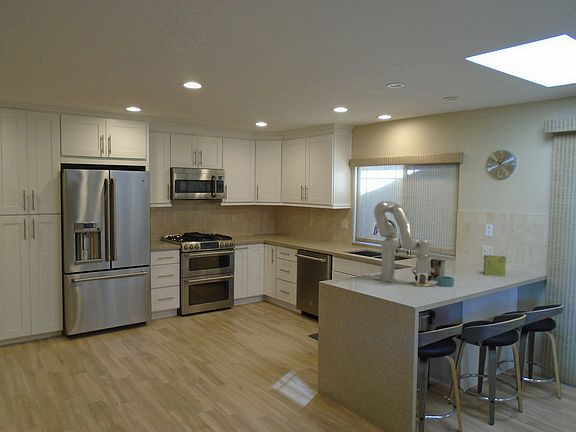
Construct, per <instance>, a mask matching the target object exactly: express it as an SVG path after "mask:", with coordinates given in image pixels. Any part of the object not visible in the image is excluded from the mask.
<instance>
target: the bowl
mask: <svg viewBox="0 0 576 432" xmlns="http://www.w3.org/2000/svg"><path fill="white" fill-rule="evenodd" d="M436 285H437V286H439V287H443V288H453V287H454V285H455V278H454V277H453V276H448V275H447V276H446V275H444V276H438V277H437V281H436Z"/></svg>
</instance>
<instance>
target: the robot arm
mask: <svg viewBox="0 0 576 432" xmlns="http://www.w3.org/2000/svg"><path fill="white" fill-rule="evenodd" d="M373 209H374V211H373V214H374V218H375V222H376V225H377V226H376V227H377V230H378V233H379V235H380V237H382V238H385V239H383V241H382V242H381V245H380V251H381V272H380V273H379V274H374V277H375V278H378V280H379V281H382V282H395V281H397V278H395V260H396V259H395V258H396V257H395V250H397V249H398V248H399V246H400V241H399V236H398V233H397V230H396V228H395V226H393V224H390V223H389V220H388V217H387V216H386V213H390V214H391V215H393V218H394V220H395V222H396V224H397V226H398V228H399V233H400V234H399V235H400V238H401V240H402V243H403V246H405V248H406V249H407V250H409V251H412V250H417V249H418V250H417V255H415V257H416V263H415V267H413V268H411V269H410V270H411V272H412V274H414V280H415V282H419V274H428V275H427V281H428V283H431V282H430V281H431V275H432V274H433V273H434V272H435V270H434V269H432V268H431V258H430V241H429V240H428V239H419V238H413V236H412V235H411V232H410V229H411V221H409V219H408V212H409V210H408V209H407V208H406V207H405V206H403V205H402V204H398V203H395V202H392V201H386V200H385V201H380V202H378V203H377V204H376V205H375V206H374V208H373ZM431 270H432V272H431ZM430 272H431V273H430Z"/></svg>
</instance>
